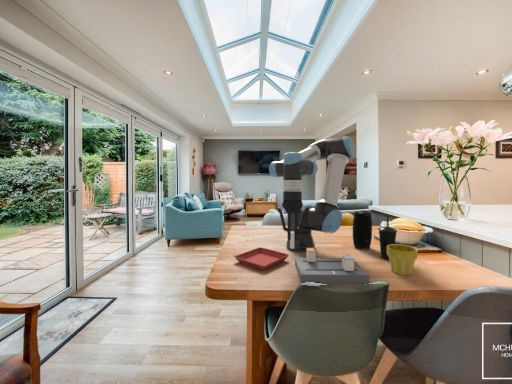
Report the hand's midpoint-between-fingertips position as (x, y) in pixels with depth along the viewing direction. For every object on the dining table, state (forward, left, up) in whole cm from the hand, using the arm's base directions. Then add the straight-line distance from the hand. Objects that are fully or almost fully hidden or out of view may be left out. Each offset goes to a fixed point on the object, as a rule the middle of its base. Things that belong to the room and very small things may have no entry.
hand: (292, 247), depth 97 cm
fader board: (+13, +6, -9) cm, 17 cm away
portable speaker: (+9, +49, -9) cm, 51 cm away
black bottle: (+24, +40, -9) cm, 48 cm away
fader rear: (+5, +6, -5) cm, 9 cm away
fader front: (+20, +7, -5) cm, 22 cm away
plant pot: (+33, +27, -9) cm, 44 cm away
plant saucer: (-15, -3, -10) cm, 18 cm away
